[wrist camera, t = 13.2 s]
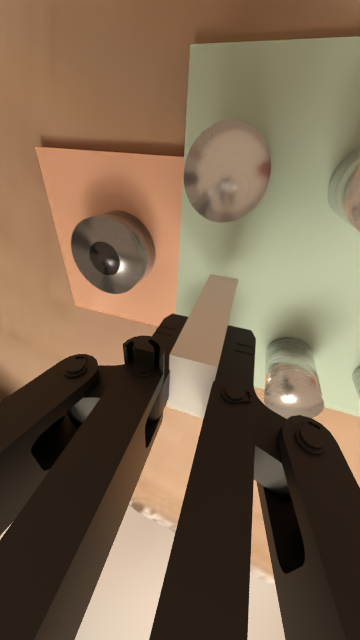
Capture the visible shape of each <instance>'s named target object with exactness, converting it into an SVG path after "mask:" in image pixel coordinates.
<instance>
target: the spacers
mask: <svg viewBox="0 0 360 640" xmlns="http://www.w3.org/2000/svg"><path fill="white" fill-rule="evenodd" d="M270 174H271V158H270V153H269V149H268V146H267V144H266V142H265V140H264V138H263V137H262V135H261V134H260V133H259V132H258V131H257V129H255V128H254V127H253V126H251V125H250V124H248V123H246V122H243V121H240V120H224V121H220V122H217V123H215V124H213V125H211V126H210V127H208V128H207V129H205V130H204V131H203V132H202V133H201V134H200V135H199V136H198V137H197V139H196V140H195V141H194V143H193V144H192V146H191V148H190V150H189V152H188V155H187V158H186V161H185V166H184V187H185V192H186V195H187V197H188V199H189V202H190V203H191V205H192V207H193V208H194V209H195V210H196V211H197V212H198V213H199V214H200V215H201V216H203V217H204V218H206V219H208V220H210V221H213V222H219V223H226V222H232V221H235V220H238V219H240V218H242V217H244V216H245V215H247V214H248V213H250V212H251V211H252V210H253V209H254V208H255V207H256V206H257V205H258V203H259V202H260V200H261V199H262V197H263V195H264V194H265V191H266V189H267V186H268V183H269V179H270ZM327 195H328V202H329V205H330V207H331V209H332V210H333V211H334V212H335V214H337V215H338V216H339V217H341V218H342V219H343V220H344V221H346V222H347V223H348V224H349V225H351V226H352V227H353V228H354V229H356V230H357V231H358V232H359V233H360V147H359V148H357V149H356V150H354V151H353V152H352V153H350V154H349V155H348V156H347V157H346V158H345V159H344V160H343V161H342V162H341V163H340V164H339V166H338V167H337V168H336V170H335V172H334V173H333V175H332V177H331V180H330V182H329V186H328V194H327ZM352 381H353V383H354V386H355V389H356V391H357V394H358V397H359V399H360V366H358V367H357V368H356V369H355V370H354V371H353V374H352ZM264 401H265V404H266V406H267V407H268V408H269V409H271V410H272V411H274V412H276V413H277V414H279V415H281V416H282V417H284V418H287V419H288V418H289V417H291V416H297V415H301V416H305V417H309V418H313V417H315V416H317V415H319V414H320V413H321V412H322V410H323V408H324V400H323V396H322V391H321V387H320V382H319V378H318V373H317V369H316V364H315V360H314V355H313V351H312V348H311V347H310V345H309V344H308V343H306V342H305V341H303V340H301V339H299V338H295V337H282V338H278V339H276V340H274V341H272V342H271V343H270V344H269V345H268V346H267V348H266V353H265V388H264Z"/></svg>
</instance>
